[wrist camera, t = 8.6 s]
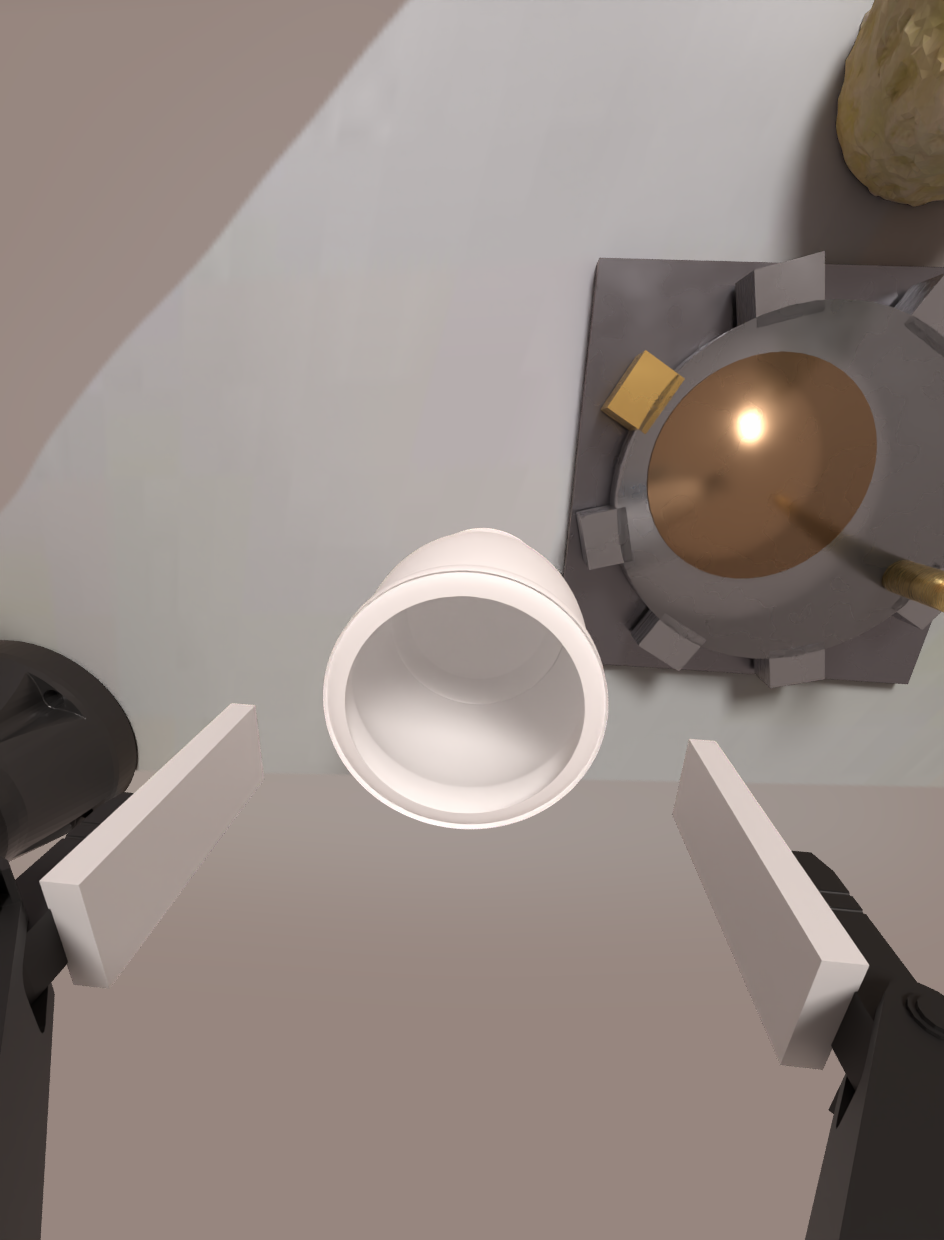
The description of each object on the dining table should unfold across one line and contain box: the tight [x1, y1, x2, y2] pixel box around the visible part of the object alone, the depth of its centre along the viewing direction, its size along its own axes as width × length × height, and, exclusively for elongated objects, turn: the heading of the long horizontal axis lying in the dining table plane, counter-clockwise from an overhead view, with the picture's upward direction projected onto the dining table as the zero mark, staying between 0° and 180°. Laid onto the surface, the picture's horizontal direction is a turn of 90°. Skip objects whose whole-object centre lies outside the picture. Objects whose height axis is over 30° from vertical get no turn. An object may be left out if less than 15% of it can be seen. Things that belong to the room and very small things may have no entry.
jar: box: [323, 528, 608, 829], centre depth 25 cm, size 11×10×15 cm
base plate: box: [563, 258, 944, 684], centre depth 28 cm, size 22×22×1 cm
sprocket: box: [576, 251, 944, 688], centre depth 24 cm, size 22×22×8 cm
